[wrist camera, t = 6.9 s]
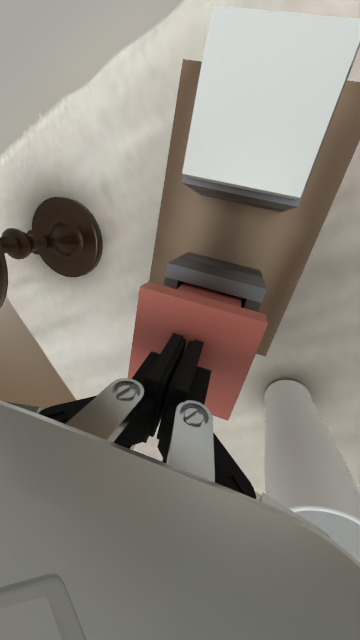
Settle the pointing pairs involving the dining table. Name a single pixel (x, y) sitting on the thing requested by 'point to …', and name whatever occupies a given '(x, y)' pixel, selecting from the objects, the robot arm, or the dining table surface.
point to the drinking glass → (308, 466)
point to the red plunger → (200, 335)
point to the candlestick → (55, 240)
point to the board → (247, 216)
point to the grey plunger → (266, 96)
